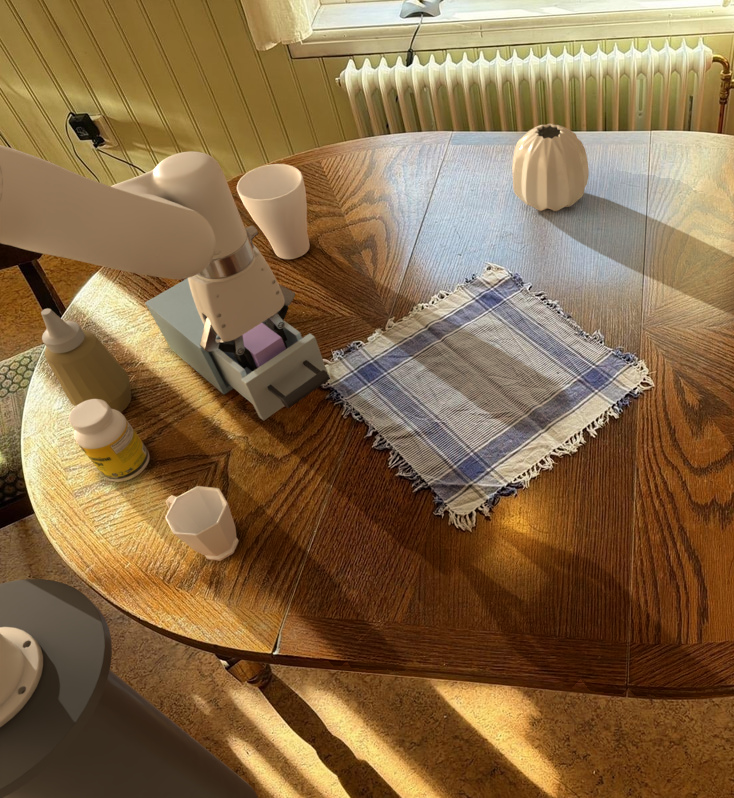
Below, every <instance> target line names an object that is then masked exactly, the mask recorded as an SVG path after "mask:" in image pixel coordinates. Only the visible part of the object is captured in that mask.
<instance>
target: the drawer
mask: <svg viewBox="0 0 734 798" xmlns="http://www.w3.org/2000/svg"><path fill="white" fill-rule="evenodd" d="M266 321H267V320H265V321H264V322H266ZM264 322H262V323H263V324H264V325H265V323H264ZM284 322H285V326H284V327H283V330H284V332H285V335H286V338H287V341H285V342H286V345H287V347H288V348H287V349H286V350H284V351H283V352H281V353H280V354H278V355H277V356H275V357H274V358H272V359H271V360H269V361H268V362H266V363H265V364H263V365H262V366H260V367H259V368H257V369H256V370H254V371H253V372H252V371H251V370H250V369H249V368H247V367H246V368H243V367H241V366H240V365H239V363H238V362H237V359H236V357H235V355H234V353H230V352H223V351H210V352H209V354H210V356H211V358H212V360H213V362H214V364H215V366H216V368H217V370H218V372H219V374H220V376H221V378H222V379H223V380H225V381H226V382H227V383H228V384H229V385H230V386H232V387H233V390H235V392H237V393H239V395H241V396H242V397H243V398H245V399H246V401H248V402H249V403H250V404H252V406H253V408H254V411H255V412H256V414H257V416H258V418H259V419H261V420H262V421H263V422H264V421H265V420H267V419H269V418H270V417H272V416H273V415H274V414H275V413H277V412H279V411H280V410H281V409H283V408H284V407H285V408H286V409H291V408H292V407H294V406H295V405H297V404H298V403H299V402H301V401H302V400H304V399H305V398H306V397H307V396H309V395H310V394H312V393H313V392H314V391H316V390H318V389H319V388H320V387H322V386H323V385H324V384H325V383H327V382H328V381H330V380H331V376H330V375H329V373H328V370H327V368H326V364H325V361H324V359H323V356H322V353H321V350H320V347H319V345H318V344H319V343H318V341H317V338H316V336H315V335H313V334H312V333H308V334H307V335H305V336H304V337H303V336H302V333H301V331H299V330H298V329H296V328H295V327H293V325H291V324H289V323H288V322H287V321H285V320H284Z"/></svg>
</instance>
